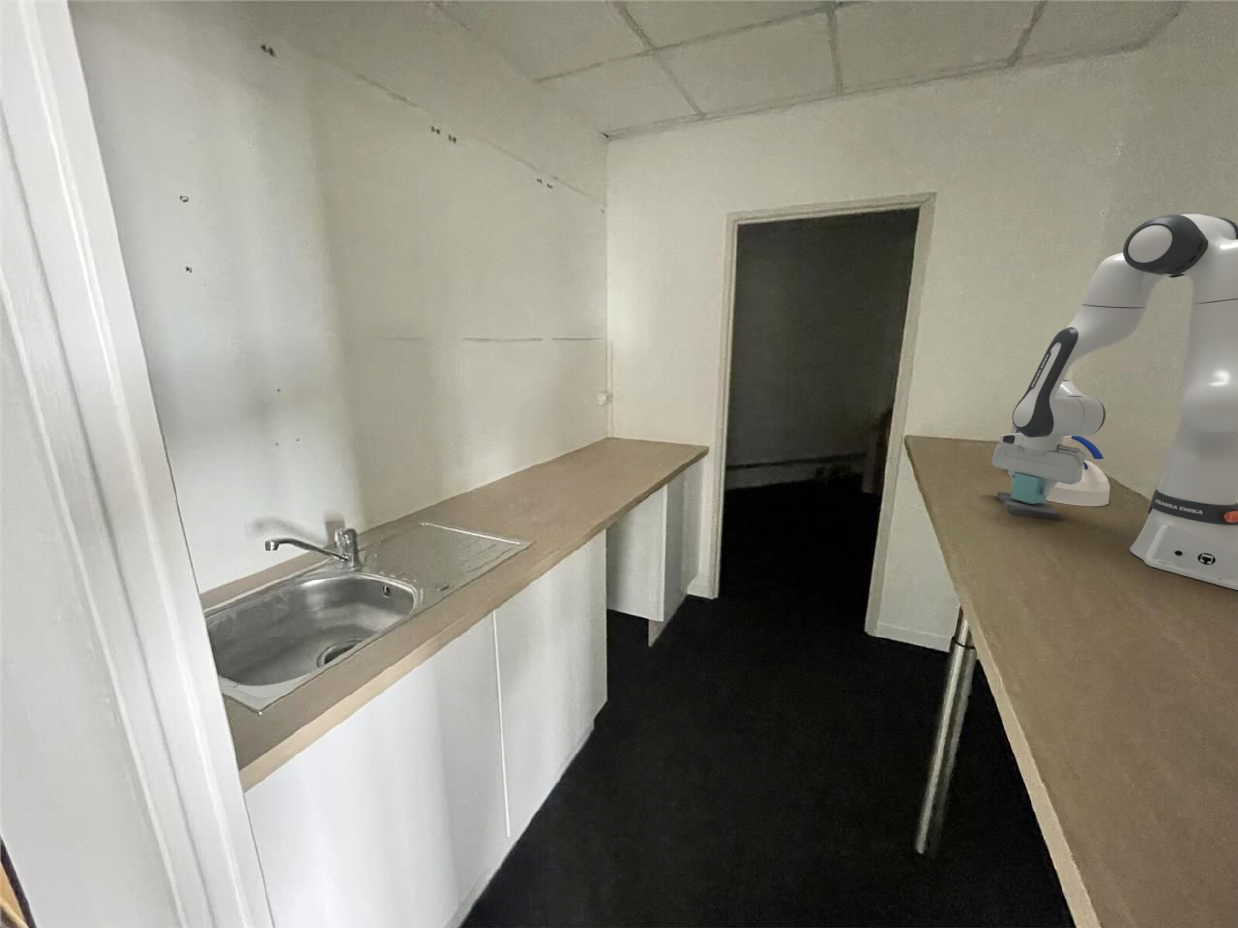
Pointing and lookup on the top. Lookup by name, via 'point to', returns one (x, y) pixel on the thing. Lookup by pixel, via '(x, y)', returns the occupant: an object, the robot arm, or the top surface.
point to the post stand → (1027, 507)
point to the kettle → (1083, 482)
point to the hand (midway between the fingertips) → (1029, 491)
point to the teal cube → (1028, 488)
